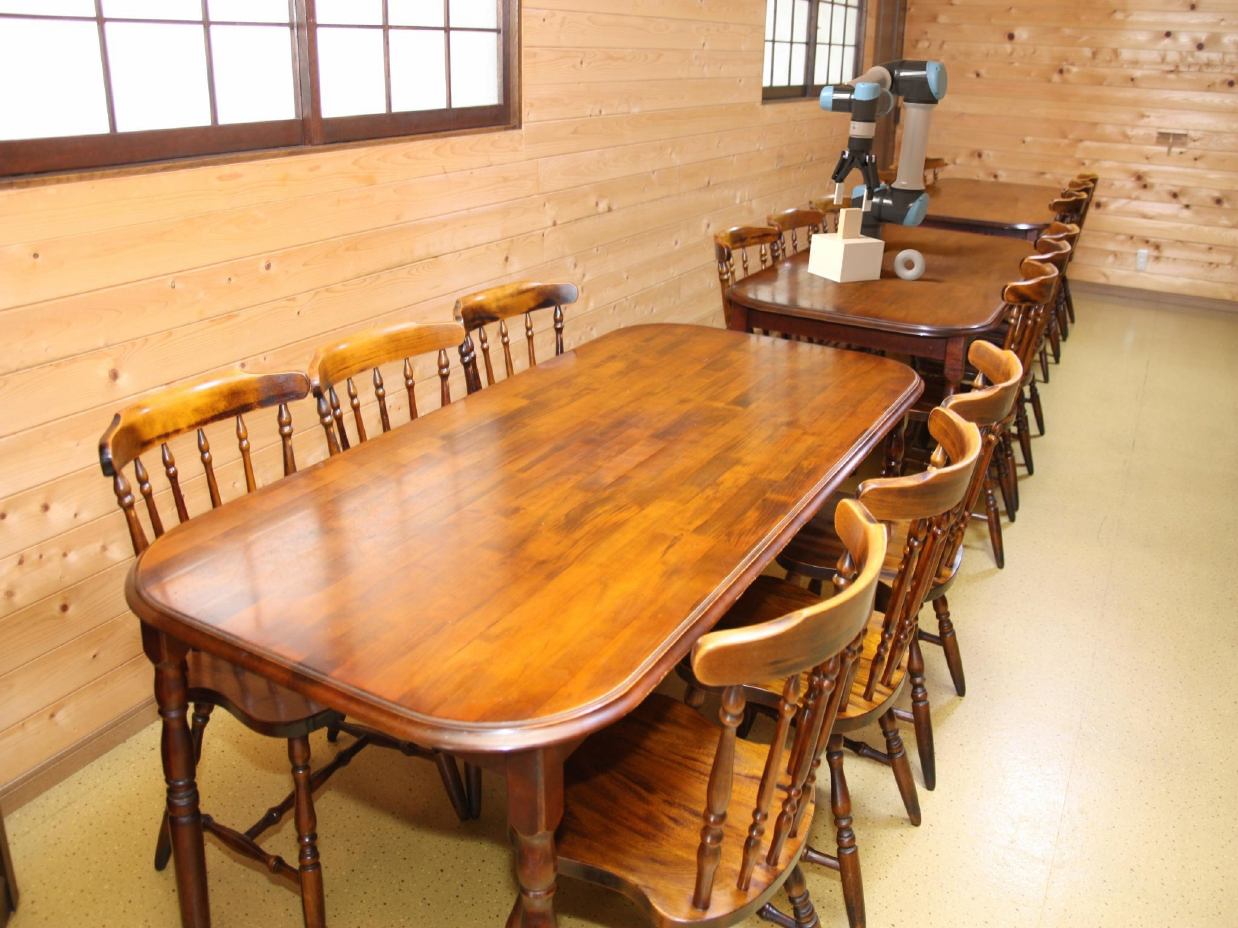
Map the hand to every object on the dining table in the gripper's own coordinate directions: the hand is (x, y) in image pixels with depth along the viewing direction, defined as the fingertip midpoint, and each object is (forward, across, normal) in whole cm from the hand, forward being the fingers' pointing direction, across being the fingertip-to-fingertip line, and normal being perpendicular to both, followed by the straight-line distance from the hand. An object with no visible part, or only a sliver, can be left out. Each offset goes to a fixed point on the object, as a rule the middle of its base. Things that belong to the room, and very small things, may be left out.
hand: (851, 207), depth 322 cm
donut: (+22, +11, +18) cm, 30 cm away
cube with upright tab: (+21, 0, 0) cm, 21 cm away
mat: (+22, 0, 0) cm, 22 cm away
